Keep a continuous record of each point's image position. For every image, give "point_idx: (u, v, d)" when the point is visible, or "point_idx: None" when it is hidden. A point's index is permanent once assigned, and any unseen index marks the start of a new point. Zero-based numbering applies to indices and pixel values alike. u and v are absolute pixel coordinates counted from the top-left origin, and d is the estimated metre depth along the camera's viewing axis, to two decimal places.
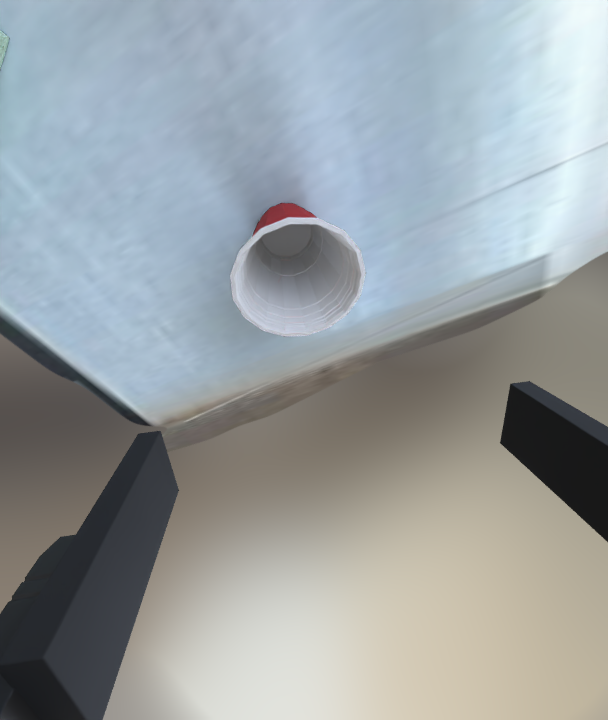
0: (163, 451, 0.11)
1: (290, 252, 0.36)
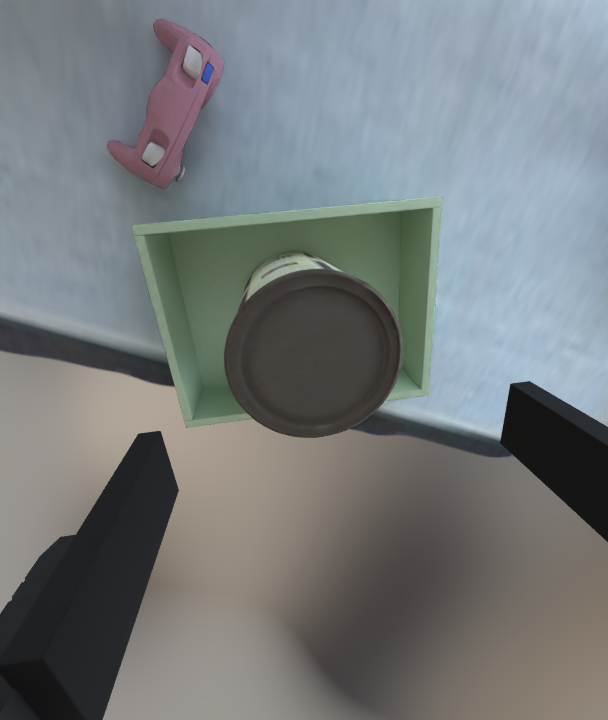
0: (163, 451, 0.11)
1: None
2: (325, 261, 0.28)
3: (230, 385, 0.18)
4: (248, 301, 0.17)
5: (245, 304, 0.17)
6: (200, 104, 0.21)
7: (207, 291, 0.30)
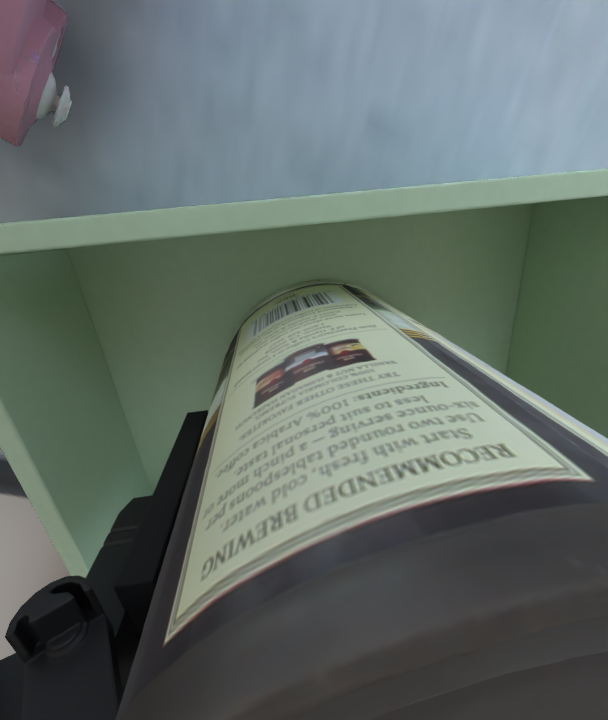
0: None
1: None
2: (392, 306, 0.13)
3: None
4: None
5: None
6: None
7: (155, 357, 0.16)
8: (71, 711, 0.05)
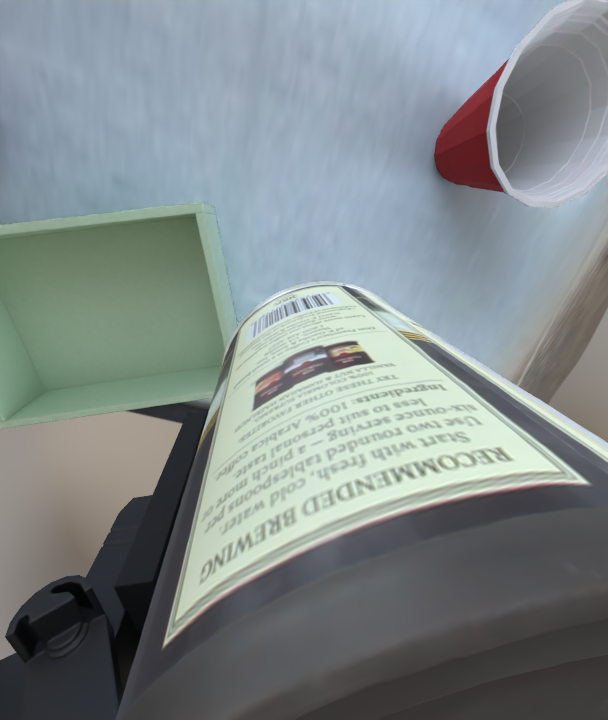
0: None
1: None
2: (391, 307, 0.13)
3: None
4: None
5: None
6: None
7: (27, 297, 0.31)
8: (71, 711, 0.05)
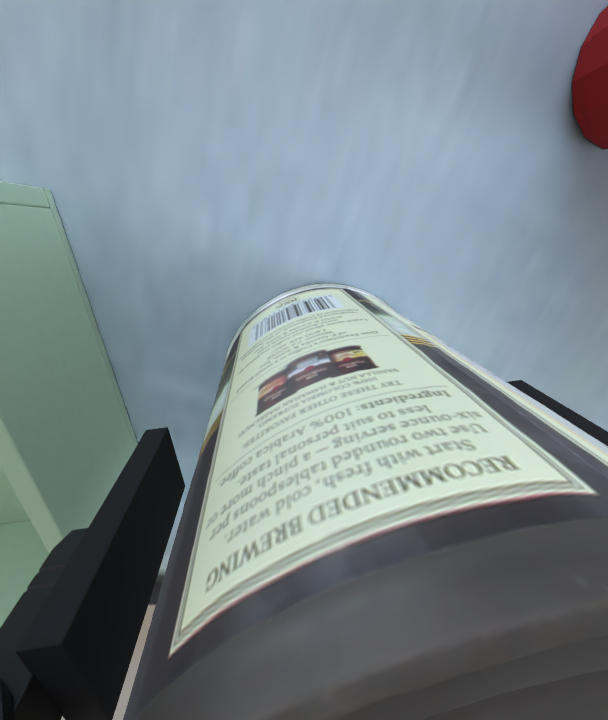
0: (170, 447, 0.12)
1: None
2: (393, 310, 0.13)
3: None
4: None
5: None
6: None
7: None
8: None
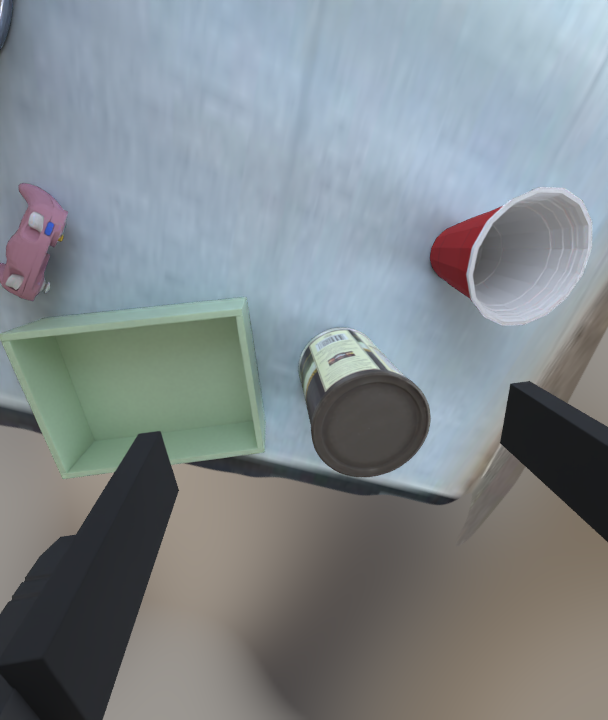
0: (163, 451, 0.11)
1: None
2: (366, 338, 0.37)
3: (314, 443, 0.28)
4: (331, 392, 0.26)
5: (329, 393, 0.26)
6: (45, 250, 0.28)
7: (88, 366, 0.37)
8: None
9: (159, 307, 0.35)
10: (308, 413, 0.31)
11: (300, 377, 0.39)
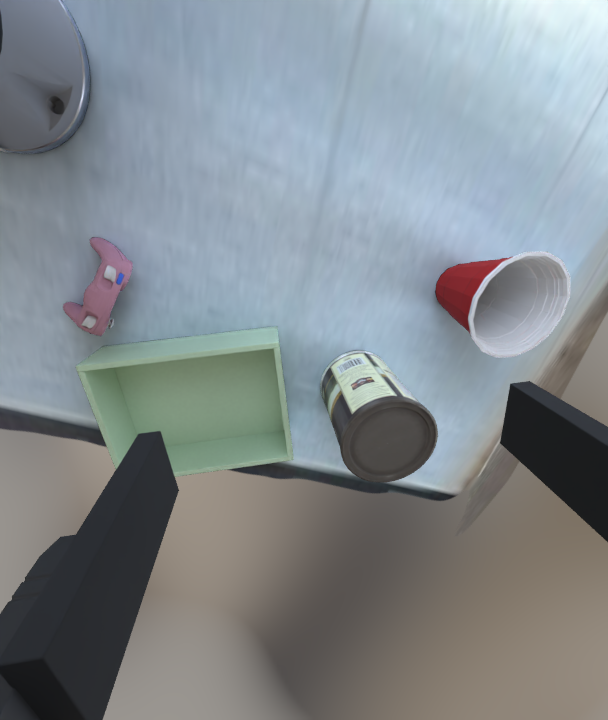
0: (163, 451, 0.11)
1: None
2: (380, 361, 0.43)
3: (343, 456, 0.34)
4: (358, 415, 0.32)
5: (356, 417, 0.32)
6: (116, 296, 0.34)
7: (139, 386, 0.43)
8: None
9: (203, 337, 0.40)
10: (334, 429, 0.37)
11: (322, 394, 0.45)
